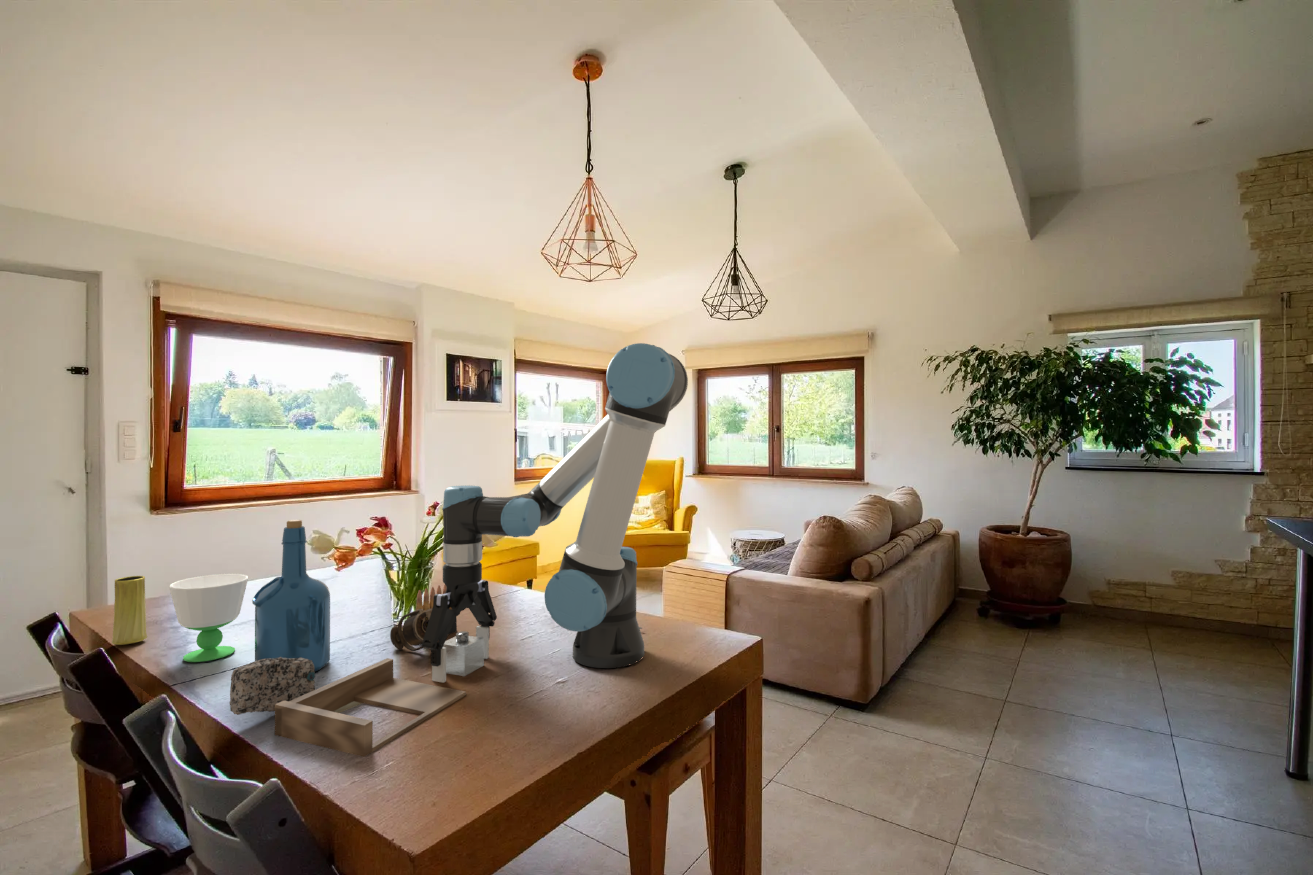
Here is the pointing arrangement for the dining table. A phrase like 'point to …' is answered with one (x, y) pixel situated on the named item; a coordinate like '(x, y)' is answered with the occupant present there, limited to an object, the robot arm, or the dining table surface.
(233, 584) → the cup
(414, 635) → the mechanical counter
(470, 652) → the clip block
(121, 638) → the vase
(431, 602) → the ammunition clip
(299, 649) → the wine bottle
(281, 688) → the rock
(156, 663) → the dining table surface
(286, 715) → the wooden shallow box
